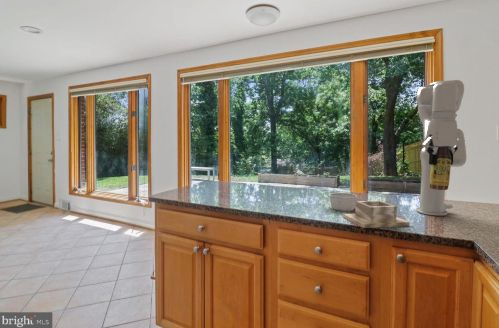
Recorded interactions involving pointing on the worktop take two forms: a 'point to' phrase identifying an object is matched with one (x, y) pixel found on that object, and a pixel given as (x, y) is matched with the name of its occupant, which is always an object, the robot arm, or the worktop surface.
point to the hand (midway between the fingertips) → (440, 164)
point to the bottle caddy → (375, 215)
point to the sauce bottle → (441, 170)
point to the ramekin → (343, 201)
